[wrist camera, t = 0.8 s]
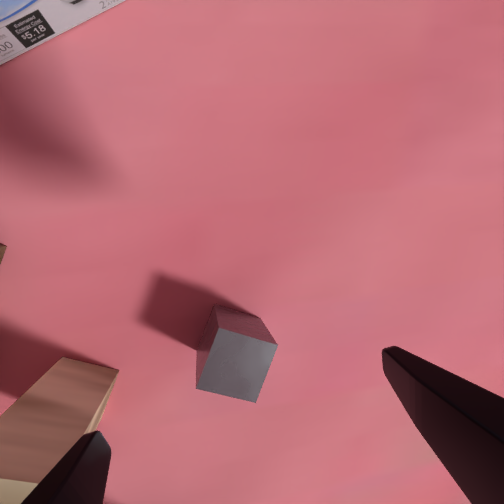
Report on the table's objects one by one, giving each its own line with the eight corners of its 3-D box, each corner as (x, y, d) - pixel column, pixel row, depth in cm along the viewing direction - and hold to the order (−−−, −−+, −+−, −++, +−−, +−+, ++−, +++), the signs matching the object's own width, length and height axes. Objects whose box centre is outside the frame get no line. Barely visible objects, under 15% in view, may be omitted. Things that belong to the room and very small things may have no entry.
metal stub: (243, 362, 22) (255, 402, 17) (196, 350, 21) (195, 388, 16) (260, 318, 22) (277, 345, 17) (214, 303, 21) (218, 327, 16)
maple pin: (101, 419, 20) (22, 572, 11) (43, 408, 19) (-91, 565, 10) (119, 370, 20) (55, 485, 11) (62, 356, 19) (-57, 470, 10)
